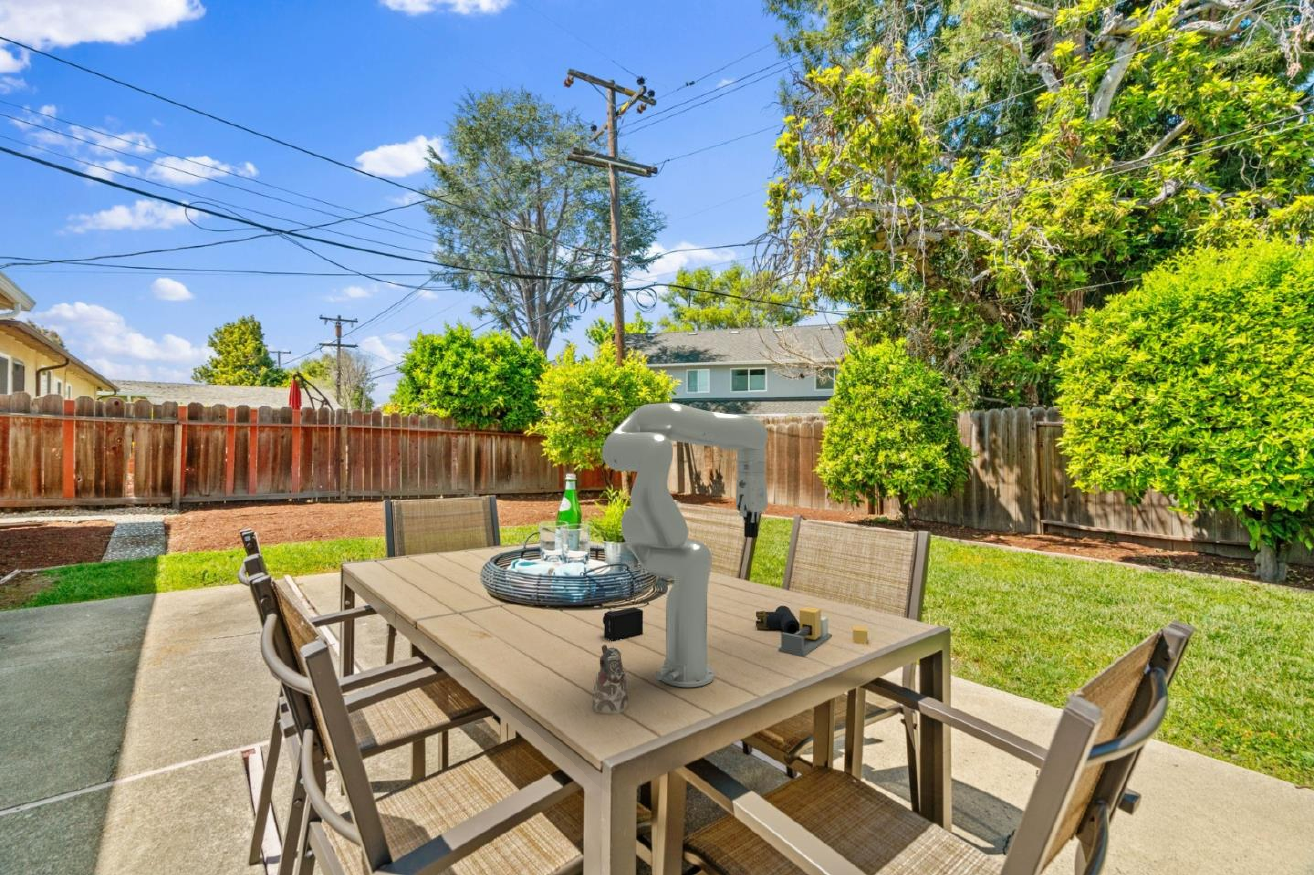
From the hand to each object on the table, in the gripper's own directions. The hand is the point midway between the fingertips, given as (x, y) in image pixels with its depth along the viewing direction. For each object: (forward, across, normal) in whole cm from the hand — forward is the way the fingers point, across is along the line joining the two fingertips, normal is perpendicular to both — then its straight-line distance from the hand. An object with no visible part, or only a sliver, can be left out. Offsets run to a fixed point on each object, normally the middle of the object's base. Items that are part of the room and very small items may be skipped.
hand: (751, 536), depth 156 cm
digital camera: (+29, -14, +33) cm, 46 cm away
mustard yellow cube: (+29, +22, -22) cm, 43 cm away
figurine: (+29, -50, +6) cm, 58 cm away
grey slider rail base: (+29, +11, -11) cm, 33 cm away
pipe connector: (+30, +18, +1) cm, 35 cm away
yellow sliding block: (+28, +14, -11) cm, 33 cm away
